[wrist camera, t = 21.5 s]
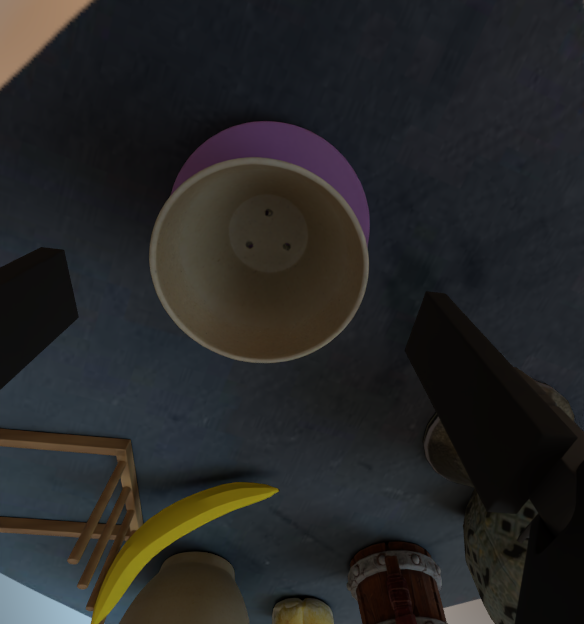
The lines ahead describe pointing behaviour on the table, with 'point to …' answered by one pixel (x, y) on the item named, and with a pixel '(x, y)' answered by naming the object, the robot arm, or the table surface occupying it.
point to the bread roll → (302, 612)
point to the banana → (171, 534)
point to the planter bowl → (190, 593)
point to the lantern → (488, 526)
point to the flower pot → (259, 260)
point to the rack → (92, 527)
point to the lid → (282, 158)
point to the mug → (396, 584)
